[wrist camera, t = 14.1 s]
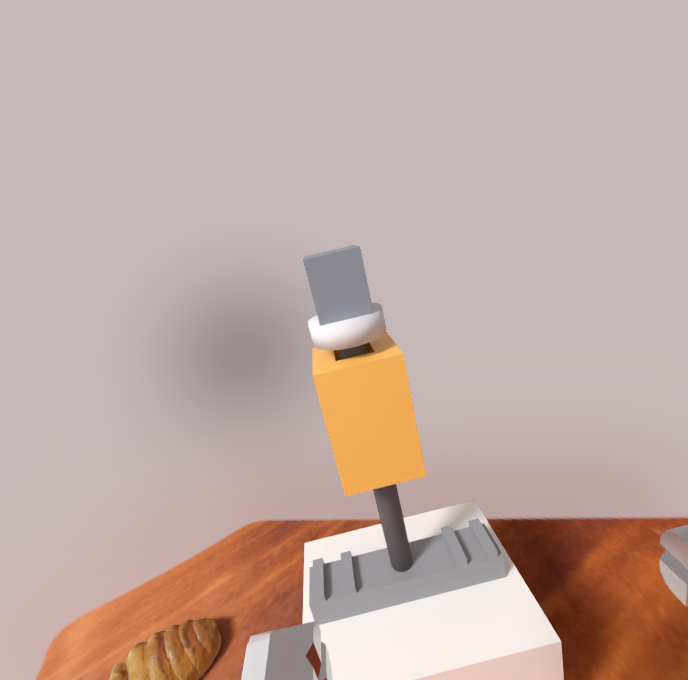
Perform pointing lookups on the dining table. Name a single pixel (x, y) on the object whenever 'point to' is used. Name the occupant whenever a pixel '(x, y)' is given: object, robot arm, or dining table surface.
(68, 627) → the dining table surface
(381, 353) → the sleeve
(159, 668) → the pastry
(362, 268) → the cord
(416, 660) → the comb base
